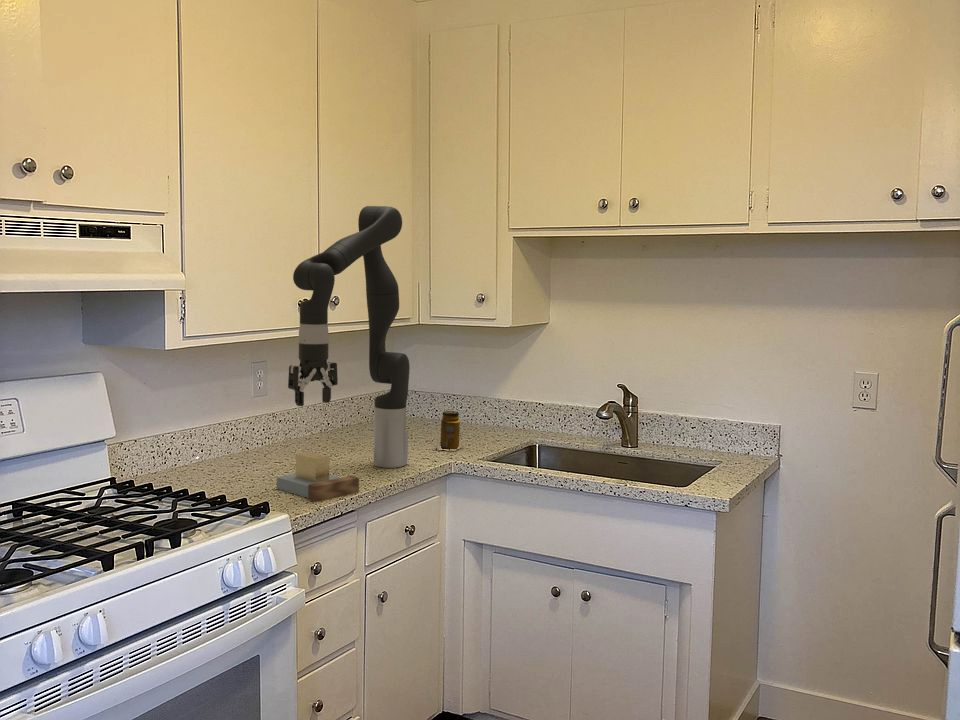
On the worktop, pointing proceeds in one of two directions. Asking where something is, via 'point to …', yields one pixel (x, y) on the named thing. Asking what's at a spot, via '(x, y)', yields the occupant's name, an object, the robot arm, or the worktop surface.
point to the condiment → (450, 430)
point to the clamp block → (312, 466)
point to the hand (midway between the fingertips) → (313, 404)
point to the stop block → (333, 488)
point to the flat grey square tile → (297, 484)
